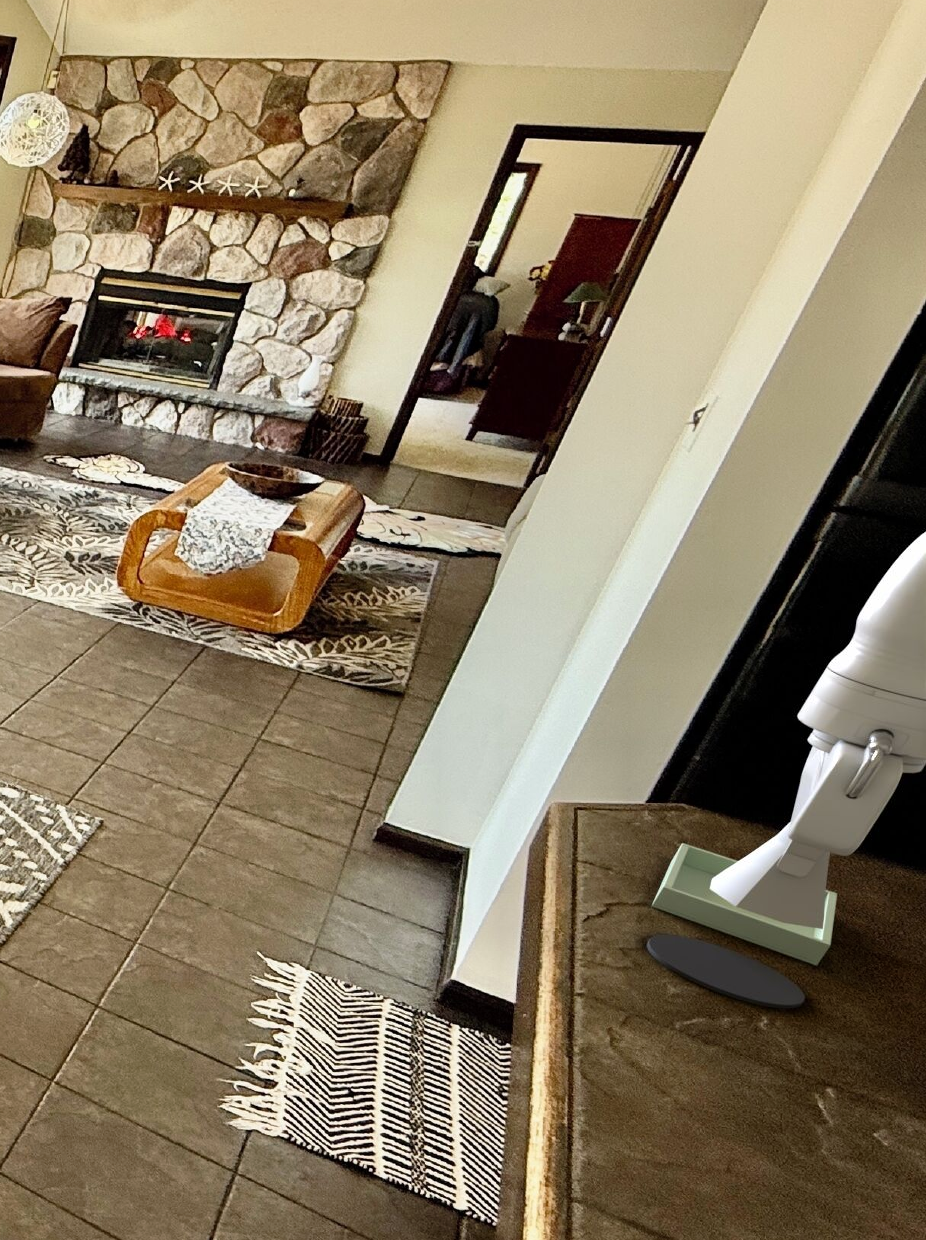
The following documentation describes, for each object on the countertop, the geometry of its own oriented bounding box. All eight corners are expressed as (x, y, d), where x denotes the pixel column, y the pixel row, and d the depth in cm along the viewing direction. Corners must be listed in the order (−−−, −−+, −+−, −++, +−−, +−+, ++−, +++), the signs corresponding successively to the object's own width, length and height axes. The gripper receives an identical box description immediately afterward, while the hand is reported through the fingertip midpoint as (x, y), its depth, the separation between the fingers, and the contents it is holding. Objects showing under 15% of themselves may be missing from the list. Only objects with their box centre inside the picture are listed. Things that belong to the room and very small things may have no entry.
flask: (802, 901, 100) (868, 802, 96) (840, 941, 94) (912, 837, 90) (693, 873, 103) (752, 776, 99) (723, 910, 98) (787, 809, 93)
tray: (671, 861, 121) (682, 842, 120) (824, 912, 113) (837, 893, 112) (651, 906, 112) (663, 886, 111) (816, 965, 104) (830, 945, 103)
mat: (768, 961, 104) (770, 957, 104) (828, 1023, 96) (831, 1019, 95) (628, 926, 108) (630, 922, 108) (674, 983, 99) (676, 979, 99)
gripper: (948, 765, 83) (841, 921, 89) (944, 706, 95) (850, 847, 101) (823, 732, 87) (728, 883, 93) (834, 680, 100) (750, 816, 105)
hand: (791, 864), depth 97 cm, fingers closed on flask, 3 cm apart
